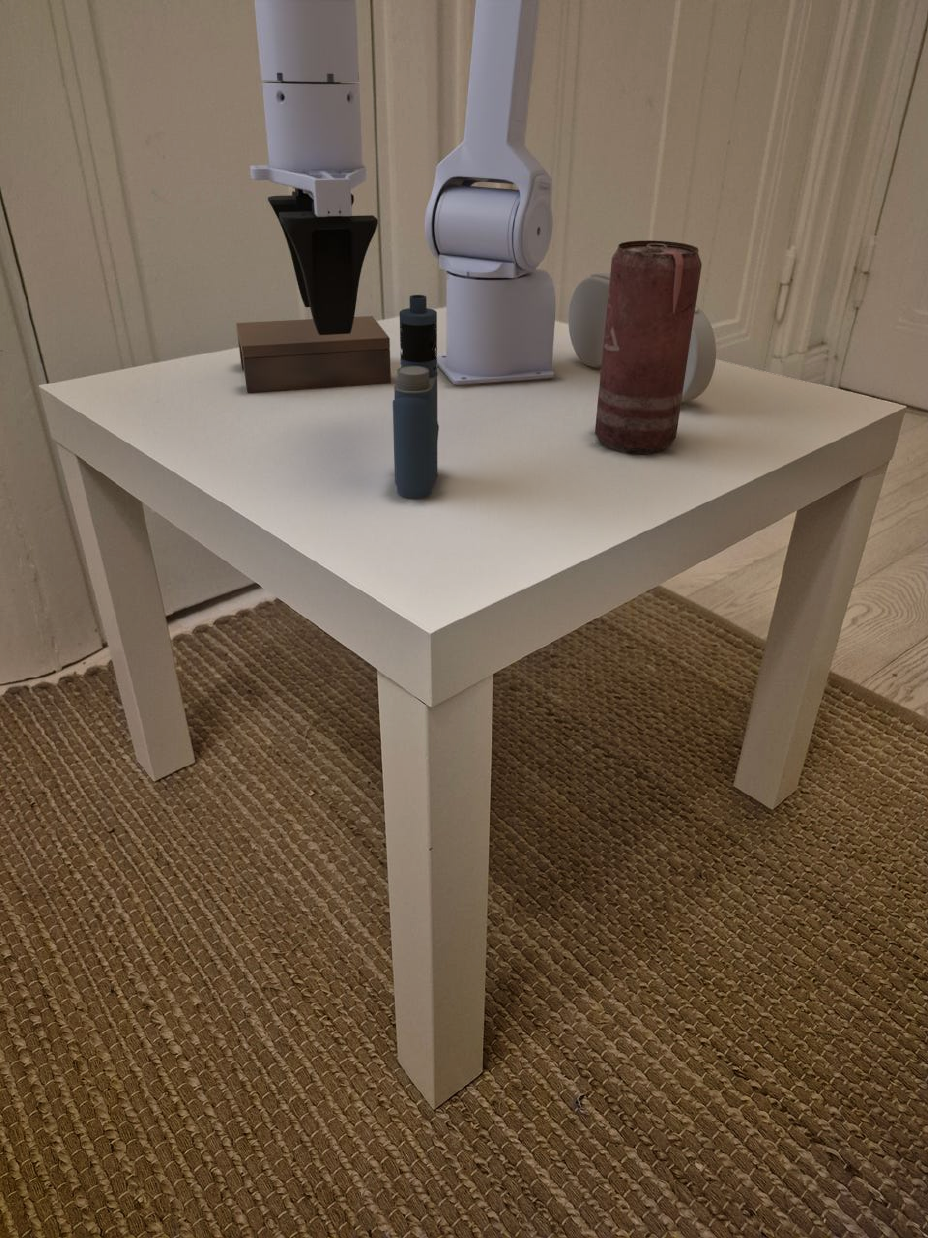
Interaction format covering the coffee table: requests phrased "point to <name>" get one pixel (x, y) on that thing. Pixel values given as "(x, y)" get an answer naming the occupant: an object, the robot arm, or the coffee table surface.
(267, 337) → the brown wooden box
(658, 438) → the can
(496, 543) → the coffee table surface
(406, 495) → the vaping device
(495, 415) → the coffee table surface
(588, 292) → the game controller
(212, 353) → the coffee table surface
